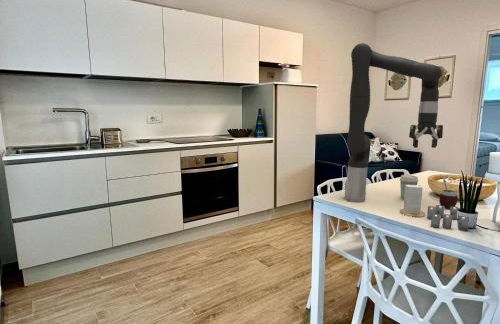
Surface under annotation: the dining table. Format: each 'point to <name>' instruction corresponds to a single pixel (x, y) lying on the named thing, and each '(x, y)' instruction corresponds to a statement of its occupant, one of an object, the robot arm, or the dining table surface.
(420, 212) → the coaster
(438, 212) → the spacer field
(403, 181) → the coffee cup
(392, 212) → the dining table surface
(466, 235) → the dining table surface
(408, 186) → the skincare box
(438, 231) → the dining table surface
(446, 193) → the mate gourd
